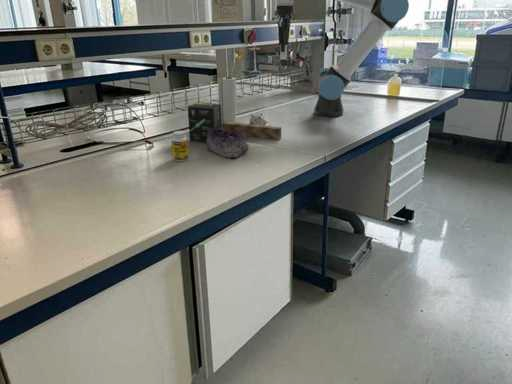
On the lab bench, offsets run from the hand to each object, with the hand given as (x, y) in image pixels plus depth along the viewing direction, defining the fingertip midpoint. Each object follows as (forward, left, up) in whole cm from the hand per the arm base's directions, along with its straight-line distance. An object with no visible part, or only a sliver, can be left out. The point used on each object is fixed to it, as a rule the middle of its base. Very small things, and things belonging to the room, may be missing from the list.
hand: (283, 59), depth 200 cm
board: (+2, +37, -28) cm, 47 cm away
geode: (+4, +60, -29) cm, 67 cm away
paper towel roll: (+20, +20, -29) cm, 40 cm away
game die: (+2, +29, -29) cm, 41 cm away
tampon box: (+18, +48, -29) cm, 59 cm away
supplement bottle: (+15, +74, -29) cm, 81 cm away
